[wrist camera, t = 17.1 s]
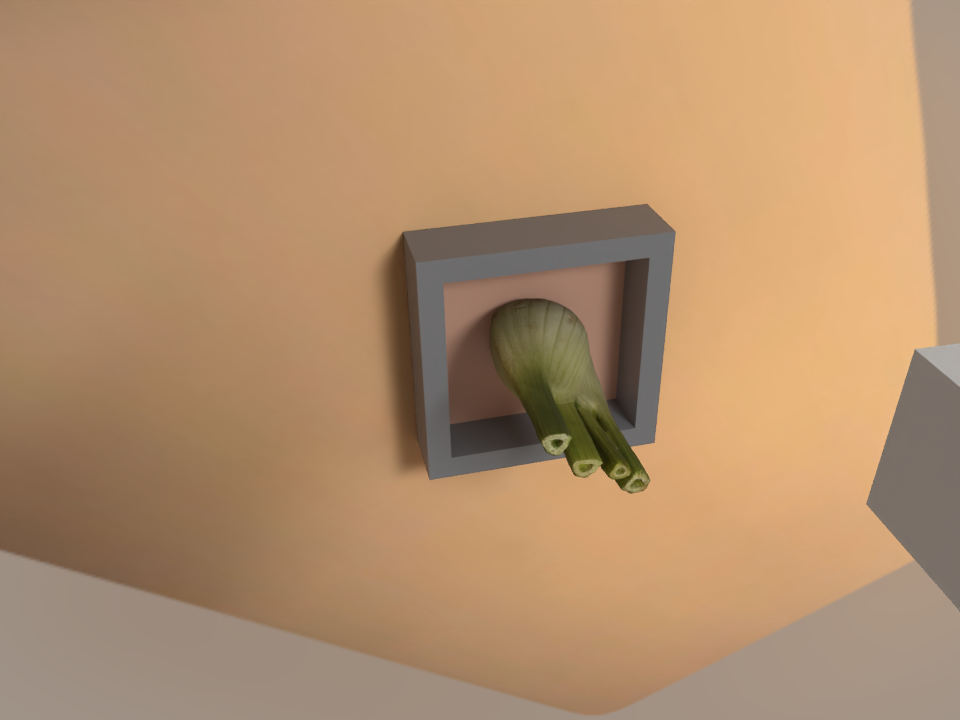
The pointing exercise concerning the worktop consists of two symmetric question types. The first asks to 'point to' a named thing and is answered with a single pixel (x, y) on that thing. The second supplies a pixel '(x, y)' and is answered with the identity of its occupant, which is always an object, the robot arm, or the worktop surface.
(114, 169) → the worktop surface
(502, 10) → the worktop surface
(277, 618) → the worktop surface
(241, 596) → the worktop surface
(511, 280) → the frame
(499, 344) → the fennel bulb
